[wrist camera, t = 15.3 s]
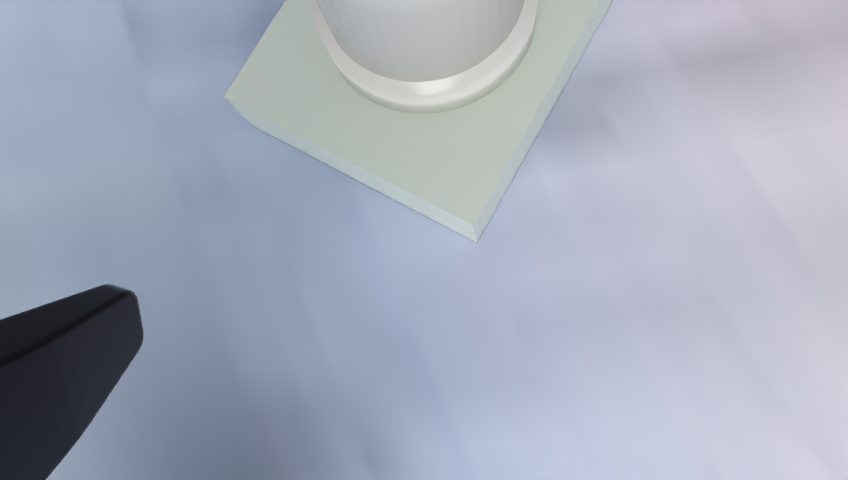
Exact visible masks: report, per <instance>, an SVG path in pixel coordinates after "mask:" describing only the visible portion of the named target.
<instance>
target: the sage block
mask: <svg viewBox="0 0 848 480" xmlns="http://www.w3.org/2000/svg"><path fill="white" fill-rule="evenodd" d="M612 1H613V0H538V13H537V21H536V29H535V32H534V36H533V39H532V42H531V44H530V47H529V49H528V51H527V53H526V55H525V57H524V58H523V60H522V61H521V63H520V65H519V66H518V67H517V68H516V70H515V71H514V72H513V73H512V75H511V76H510V77H509V78H508V79H507V80H506V81H505V82H503V83H502V84H501V85H500V86H499V87H498V88H496V89H495V90H494V91H492V92H491V93H490V94H488V95H486V96H485V97H483V98H481V99H479V100H478V101H476V102H473V103H471V104H469V105H466V106H464V107H461V108H458V109H454V110H450V111H446V112H439V113H431V114H415V113H405V112H400V111H396V110H391V109H389V108H386V107H383V106H380V105H378V104H376V103H374V102H372V101H370V100H368V99H367V98H365V97H364V96H362V95H361V94H360V93H358V92H357V91H356V90H355V89H353V88H352V87H351V86H350V85H349V84H348V83H347V82H346V80H345V79H344V78H343V77H342V75H341V74H340V73H339V71H338V69H337V68H336V66H335V64H334V62H333V60H332V59H331V57H330V55H329V53H328V51H327V49H326V48H325V46H324V44H323V42H322V40H321V38H320V36H319V33H318V30H317V28H316V24H315V19H314V15H313V0H285V1H284V3H283V5H282V6H281V8H280V9H279V11H278V12H277V14H276V15H275V17H274V19H273V20H272V22H271V23H270V25H269V26H268V28H267V29H266V31H265V32H264V34H263V36H262V37H261V39H260V40H259V42H258V43H257V45H256V46H255V48H254V49H253V51H252V53H251V54H250V56H249V57H248V59H247V60H246V62H245V63H244V65H243V66H242V68H241V70H240V71H239V73H238V74H237V76H236V77H235V79H234V80H233V82H232V84H231V85H230V87H229V88H228V90H227V91H226V93H225V94H224V96H223V97H224V98H225V99H226V100H227V101H228V102H229V103H230V104H231V105H232V106H233V107H234V108H235V109H236V110H237V111H238V112H239V113H240V114H241V115H242V116H243V117H244V118H245V119H246V120H247V121H248V122H249V123H250V124H251V125H252V126H254V127H256V128H258V129H260V130H262V131H264V132H266V133H268V134H270V135H271V136H273V137H275V138H277V139H279V140H281V141H283V142H285V143H287V144H289V145H291V146H293V147H294V148H296V149H298V150H300V151H302V152H304V153H306V154H308V155H310V156H312V157H314V158H315V159H317V160H319V161H321V162H323V163H325V164H327V165H329V166H331V167H333V168H335V169H337V170H338V171H340V172H342V173H344V174H346V175H348V176H350V177H352V178H354V179H356V180H358V181H360V182H361V183H363V184H365V185H367V186H369V187H371V188H373V189H375V190H377V191H379V192H381V193H382V194H384V195H386V196H388V197H390V198H392V199H394V200H396V201H398V202H400V203H402V204H404V205H405V206H407V207H409V208H411V209H413V210H415V211H417V212H419V213H421V214H423V215H425V216H427V217H428V218H430V219H432V220H434V221H436V222H438V223H440V224H442V225H444V226H446V227H448V228H449V229H451V230H453V231H455V232H457V233H459V234H461V235H463V236H465V237H467V238H469V239H471V240H472V241H474V242H476V243H477V241H478V240H479V238H480V236H481V234H482V233H483V231H484V229H485V227H486V225H487V224H488V222H489V220H490V218H491V216H492V215H493V213H494V211H495V209H496V208H497V206H498V204H499V202H500V200H501V199H502V197H503V195H504V193H505V192H506V190H507V188H508V186H509V184H510V183H511V181H512V179H513V177H514V175H515V174H516V172H517V170H518V168H519V167H520V165H521V163H522V161H523V159H524V158H525V156H526V154H527V152H528V151H529V149H530V147H531V145H532V143H533V142H534V140H535V138H536V136H537V134H538V133H539V131H540V129H541V127H542V126H543V124H544V122H545V120H546V118H547V117H548V115H549V113H550V111H551V109H552V108H553V106H554V104H555V102H556V101H557V99H558V97H559V95H560V93H561V92H562V90H563V88H564V86H565V85H566V83H567V81H568V79H569V77H570V76H571V74H572V72H573V70H574V68H575V67H576V65H577V63H578V61H579V60H580V58H581V56H582V54H583V52H584V51H585V49H586V47H587V45H588V44H589V42H590V40H591V38H592V36H593V35H594V33H595V31H596V29H597V27H598V26H599V24H600V22H601V20H602V19H603V17H604V15H605V13H606V11H607V10H608V8H609V6H610V4H611V3H612Z"/></svg>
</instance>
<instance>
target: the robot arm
mask: <svg viewBox="0 0 848 480" xmlns="http://www.w3.org/2000/svg"><path fill="white" fill-rule="evenodd" d="M143 335H144V334H143V327H142V321H141V315H140V310H139V304H138V299H137V296H136V295H135V294H134V292H132V291H131V290H127V289H124V288H121V287H118V286H115V285H109V284H107V285H102V286H98V287H95V288H93V289H90V290H87V291H84V292H81V293H78V294H75V295H72V296H69V297H66V298H63V299H60V300H57V301H54V302H51V303H48V304H45V305H42V306H39V307H36V308H34V309H31V310H28V311H25V312H22V313H19V314H16V315H13V316H10V317H7V318H4V319H1V320H0V480H46V479H47V477H48V476H49V475H50V474H51V473H52V471H53V470H54V469H55V468H56V467H57V465H58V464H59V463H60V462H61V460H62V459H63V458H64V457H65V456H66V454H67V453H68V452H69V451H70V449H71V448H72V447H73V446H74V444H75V443H76V442H77V440H78V439H79V438H80V437H81V435H82V434H83V432H84V431H85V430H86V428H87V427H88V425H89V424H90V423H91V421H92V420H93V418H94V417H95V415H96V414H97V412H98V411H99V409H100V408H101V406H102V405H103V403H104V402H105V400H106V399H107V397H108V396H109V394H110V393H111V391H112V390H113V388H114V387H115V385H116V384H117V382H118V381H119V379H120V378H121V376H122V375H123V373H124V372H125V370H126V369H127V367H128V366H129V364H130V363H131V361H132V360H133V358H134V357H135V355H136V354H137V352H138V351H139V349H140V347H141V345H142V341H143Z"/></svg>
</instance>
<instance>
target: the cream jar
mask: <svg viewBox="0 0 848 480" xmlns="http://www.w3.org/2000/svg"><path fill="white" fill-rule="evenodd" d="M537 13H538V0H313V15H314V19H315V24H316V28H317V30H318V33H319V36H320V38H321V40H322V42H323V44H324V46H325V48H326V49H327V51H328V53H329V55H330V57H331V59H332V60H333V62H334V64H335V66H336V68H337V69H338V71H339V73H340V74H341V75H342V77H343V78H344V79H345V80H346V82H347V83H348V84H349V85H350V86H351V87H352V88H353V89H355V90H356V91H357V92H358V93H360V94H361V95H362V96H364V97H365V98H367V99H368V100H370V101H372V102H374V103H376V104H378V105H380V106H383V107H386V108H389V109H391V110H396V111H400V112H405V113H415V114H431V113H439V112H446V111H450V110H454V109H458V108H461V107H464V106H466V105H469V104H471V103H473V102H476V101H478V100H479V99H481V98H483V97H485V96H486V95H488V94H490V93H491V92H492V91H494V90H495V89H496V88H498V87H499V86H500V85H501V84H502V83H503V82H505V81H506V80H507V79H508V78H509V77H510V76H511V75H512V73H513V72H514V71H515V70H516V68H517V67H518V66H519V65H520V63H521V61H522V60H523V58H524V57H525V55H526V53H527V51H528V49H529V47H530V44H531V42H532V39H533V36H534V32H535V29H536V21H537Z"/></svg>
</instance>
